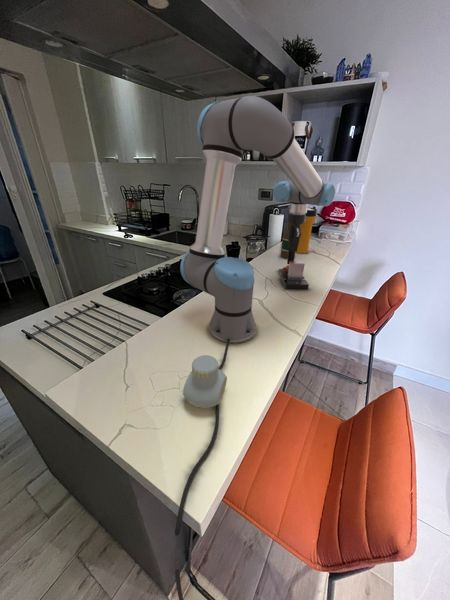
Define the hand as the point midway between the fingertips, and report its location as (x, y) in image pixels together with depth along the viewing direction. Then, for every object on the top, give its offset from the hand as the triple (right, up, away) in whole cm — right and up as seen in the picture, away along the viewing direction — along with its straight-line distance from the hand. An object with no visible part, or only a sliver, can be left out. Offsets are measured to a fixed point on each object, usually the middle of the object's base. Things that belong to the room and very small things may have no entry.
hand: (290, 263), depth 124 cm
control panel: (0, -10, -7) cm, 12 cm away
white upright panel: (0, -8, -8) cm, 12 cm away
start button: (0, -3, +1) cm, 3 cm away
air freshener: (-36, -40, -63) cm, 83 cm away
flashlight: (+16, +13, +36) cm, 41 cm away
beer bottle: (+5, +8, +27) cm, 28 cm away
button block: (0, -5, +3) cm, 6 cm away
